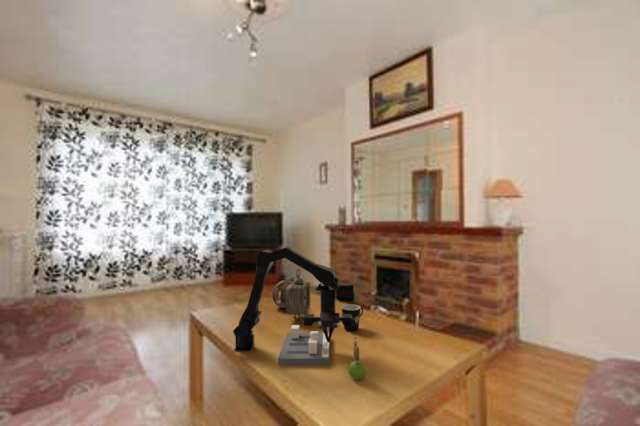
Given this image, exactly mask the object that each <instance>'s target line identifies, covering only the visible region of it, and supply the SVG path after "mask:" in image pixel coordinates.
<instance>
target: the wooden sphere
mask: <svg viewBox="0 0 640 426" xmlns="http://www.w3.org/2000/svg"><path fill="white" fill-rule="evenodd" d="M293 282H294V281H290V280H281V281H279V282H277V284H275V286H273V290H272V293H271V295H272V296H271V297H272V301H273V302H274V304H275V305H276V306H277V307H280V308H282V309H286V288H287V287H288V286H289V285H290V284H292V283H293Z"/></svg>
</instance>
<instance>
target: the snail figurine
mask: <svg viewBox="0 0 640 426" xmlns="http://www.w3.org/2000/svg"><path fill="white" fill-rule="evenodd" d="M357 338H358V337H357V336H356V337H355V336H353V338H352V339H353V357H354V361H352V362H350V364H349V367H348V374H349V376H350V377H351V378H352V379H354V380H361V379H363V378H364V376H365V375H366V372H367V371H366V370H367V369H366V366H365V365H364V363H363V362H362V361H360V349H359V346H358V342H357Z"/></svg>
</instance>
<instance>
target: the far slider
mask: <svg viewBox="0 0 640 426" xmlns="http://www.w3.org/2000/svg"><path fill="white" fill-rule="evenodd" d="M300 330H301V329H300V324H292V325H291V327H290V333H291V338H299V335H300V333H301V332H300Z"/></svg>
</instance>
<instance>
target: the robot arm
mask: <svg viewBox="0 0 640 426" xmlns="http://www.w3.org/2000/svg"><path fill="white" fill-rule="evenodd" d="M255 259H256V260H255V271H256V272H255V277H254V280H253V285H252V289H251V292H250V296H249V298H248V303H247V306H246V308H245V310H244V311H243V313H242V315H241V316H240V319H239V322H238V325H237V326H236V327H234V329H233V330H232V333H233V335H234V337H235V347H234V351H236V352H237V351H243V352H244V351H247V352H249V351H251V350H252V348H253V347H254V346H255V334H254V331H253V329H254V328H255V326H256V325H257V324H258V323H259V322H260V320H261V319H260V318H261V315H262V311H261V310H259V309H260V308H259V306H260V301H261V298H262V295H263V291H264V287H265V284H266V281H267V277H268V273H269V272H270V270H271V268H272V266H273V264H274V262H276V261H279V260H282V259H286V260H287V261H289V262H291V263H292V264H295V265H296V266H298V267H300V268H302V269H303V270H305V271H307V272H308V273H309V274H311V275H312V276H313V277H314V278H315V279H316V280H317V281H318V282H319V283H318V285H317V286H316V287H315V288H314V291H316V292H317V291H320V293H319V295H320V298H319V299H320V314H319V316H315V314H314V313H308V314H304V315H303V319H302V320H303V322H302V324H303V326H305V327H308V326H309V327H311V326H313V325H314V323H317V324H318V328H319V329H321V330H322V331H323V332H322V333H324V334H325V337H326V340H327V342H330V343H331V339H332V336H333V332H334V330H335V329H337V328H338V326H339V324H340V323H342V325H343V327H344V326H352V325H353V318H352V315H351V314H341V316H340V312H336V300H338V301H339V303H355V285H354V283H347V284H346V283H345V284H342V283H341V282H340V280H339V279H338V278H337V277H336V272H335V270H334V269H333V268H330V267H328V266H326V265H323V264H319V263H316V262H314V261H313V260H311V259H309V258H308V257H306V256H304V255H302V254H301V253H299V252H297V251H296V250H294V249H292V248H291V247H290V246H285V247H283V248H279V249H274V250H272V249H266V250H263V251H261V252H259V253H258V254H257V256H256V258H255ZM328 328H329V329H328ZM328 333H329V336H328Z"/></svg>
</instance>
